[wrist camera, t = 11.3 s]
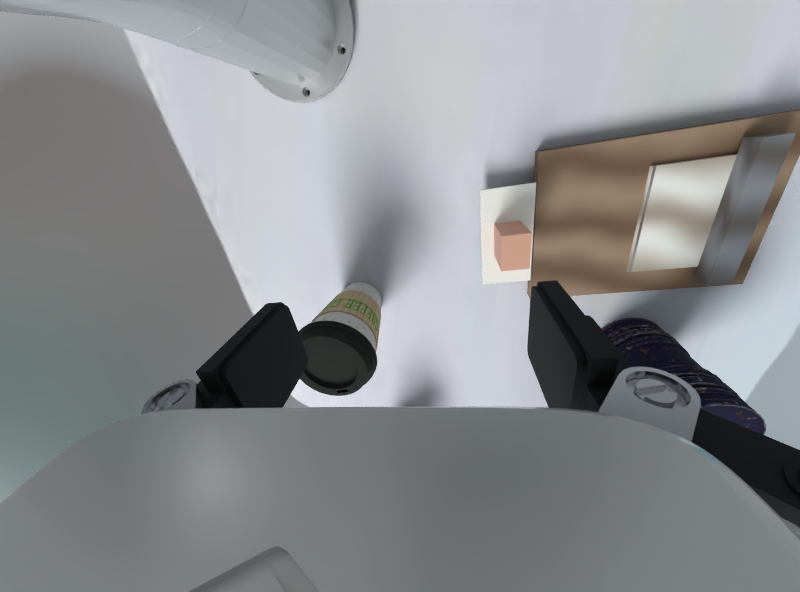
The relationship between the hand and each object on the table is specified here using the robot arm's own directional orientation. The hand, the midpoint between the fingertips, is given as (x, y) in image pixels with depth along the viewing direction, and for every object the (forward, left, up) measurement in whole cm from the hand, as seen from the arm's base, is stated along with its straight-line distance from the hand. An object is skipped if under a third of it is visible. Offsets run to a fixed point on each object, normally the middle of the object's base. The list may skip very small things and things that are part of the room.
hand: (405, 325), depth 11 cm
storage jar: (+25, +26, -28) cm, 46 cm away
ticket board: (+6, +24, -28) cm, 38 cm away
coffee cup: (+14, -12, -28) cm, 34 cm away
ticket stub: (+6, +9, -27) cm, 29 cm away
